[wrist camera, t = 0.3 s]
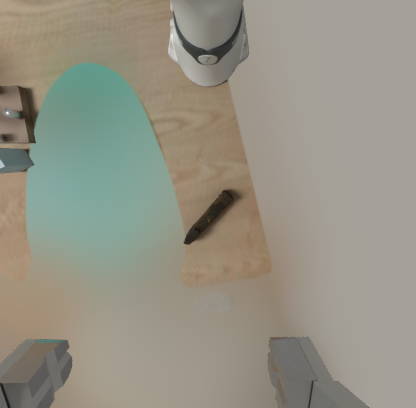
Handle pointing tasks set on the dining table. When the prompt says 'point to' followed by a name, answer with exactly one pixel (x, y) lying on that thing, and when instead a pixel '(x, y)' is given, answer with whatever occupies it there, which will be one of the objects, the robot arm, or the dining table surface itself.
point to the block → (14, 160)
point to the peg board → (14, 124)
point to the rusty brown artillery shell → (208, 216)
